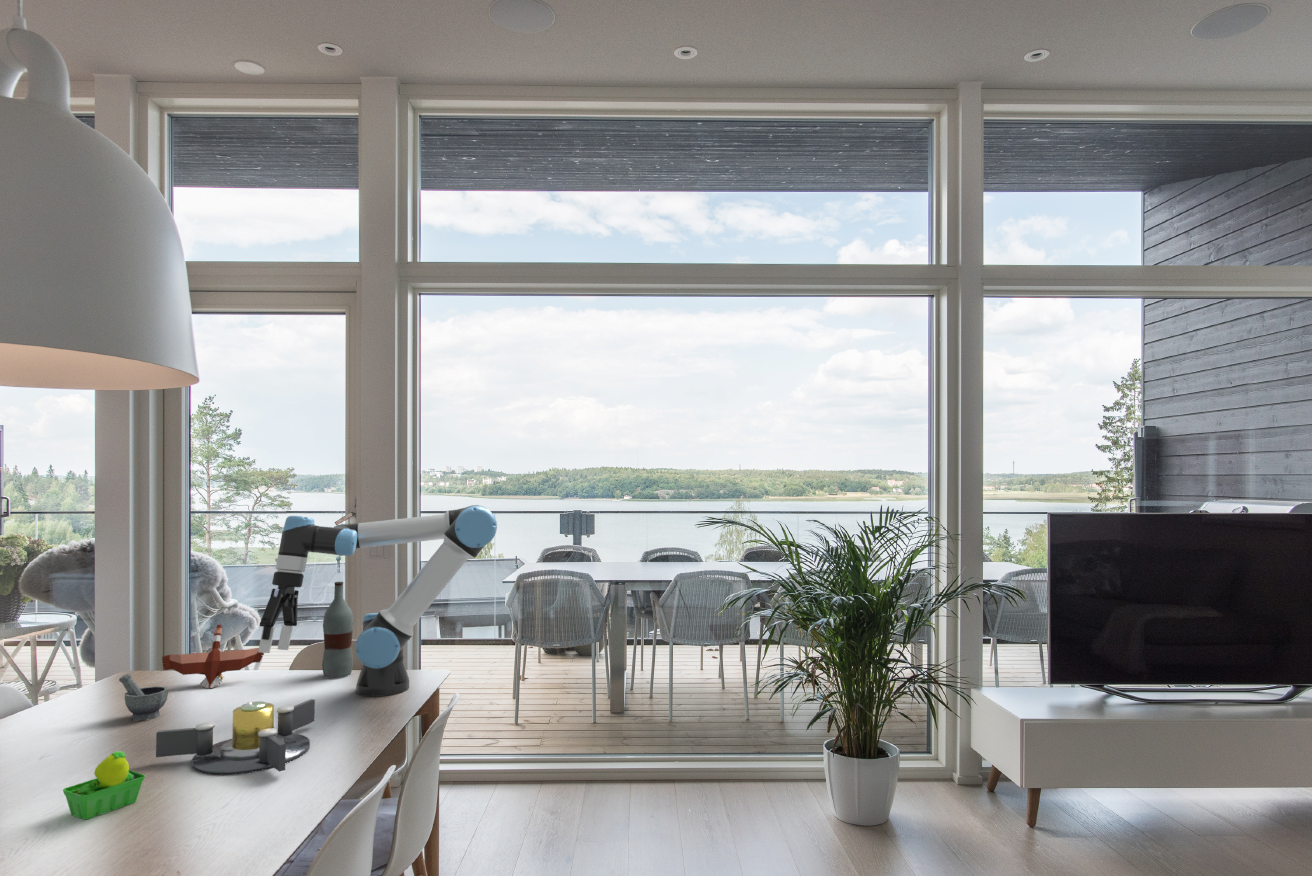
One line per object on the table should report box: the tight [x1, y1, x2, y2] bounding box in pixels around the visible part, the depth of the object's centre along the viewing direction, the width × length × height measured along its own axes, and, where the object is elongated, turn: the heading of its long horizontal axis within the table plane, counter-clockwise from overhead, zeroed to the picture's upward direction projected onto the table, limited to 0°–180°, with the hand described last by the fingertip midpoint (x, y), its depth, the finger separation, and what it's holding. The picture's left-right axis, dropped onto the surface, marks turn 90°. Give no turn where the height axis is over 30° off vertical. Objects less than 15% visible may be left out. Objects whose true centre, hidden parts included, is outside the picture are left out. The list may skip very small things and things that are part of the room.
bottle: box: [321, 581, 355, 679], centre depth 244 cm, size 9×9×30 cm
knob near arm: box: [276, 698, 316, 736], centre depth 187 cm, size 12×4×6 cm, turn 165°
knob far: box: [155, 721, 216, 758], centre depth 170 cm, size 12×4×6 cm, turn 105°
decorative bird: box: [161, 624, 265, 690], centre depth 235 cm, size 28×18×15 cm, turn 110°
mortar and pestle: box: [118, 673, 169, 722], centre depth 201 cm, size 11×9×12 cm
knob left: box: [258, 728, 286, 772], centre depth 164 cm, size 12×4×6 cm, turn 45°
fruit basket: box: [62, 750, 146, 821], centre depth 145 cm, size 11×9×11 cm
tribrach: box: [191, 700, 311, 776], centre depth 174 cm, size 24×24×12 cm
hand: (273, 651), depth 203 cm, fingers open, 13 cm apart
